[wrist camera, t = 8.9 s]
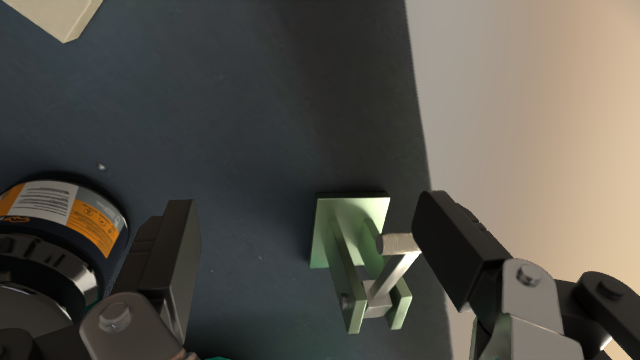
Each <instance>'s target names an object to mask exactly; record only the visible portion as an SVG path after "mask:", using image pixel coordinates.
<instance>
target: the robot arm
mask: <svg viewBox="0 0 640 360" xmlns="http://www.w3.org/2000/svg"><path fill="white" fill-rule="evenodd" d="M411 231H412V236H413V239H414V241H415V242H416V244H417V246H418V247H419V249H420V251H421V252H422V254H423V255H424V257H425V259H426V260H427V262H428V264H429V265H430V267H431V268H432V270H433V272H434V273H435V275H436V277H437V278H438V280H439V281H440V283H441V285H442V286H443V288H444V290H445V291H446V293H447V294H448V296H449V298H450V299H451V301H452V302H453V304H454V306H455V307H456V309H457V311H458V312H459V313H462V312H470V311H474V313H475V314H476V318H475V320H474V322H473V330H472V339H471V347H470V357H469V360H612V359H611V358H610V357H609V356H608V355H607V354H606V352H605V351H604V350H603V348H604V347H605V346H606V345H607V344H608V343H609V341H610V340H611V339H612V338H613V339H614V340H615V341H616V342H617V343H618V344H619V345H620V347H621V348H622V349H623V350H624V351H625V352H626V353H627V354H628V355H629V356H630V357H631V358H632V359H633V360H640V296H639V295H638V294H636V293H635V292H634V291H633V290H632V289H631V288H629V287H628V286H627V285H625V284H624V283H623V282H621V281H619V280H617V279H615V278H614V277H611V276H609V275H606V274H603V273H600V272H594V271H588V272H585V273H583V274H582V276H581V277H580V278H579V280H578V281H577V283H574V282H568V281H562V280H557V279H553V278H552V277H551V275H550V274H549V273H548V272H547V271H545V270H544V269H543V268H541V267H540V266H538V265H536V264H534V263H532V262H530V261H527V260H524V259H518V258H513V257H512V256H511V255H510V253H509V252H508V251H507V250H506V249H505V248H504V247H503V246H502V245H501V244H500V243H499V242H498V241H497V239H496V238H495V237H494V236H493V235H492V234H491V233H490V232H489V231H487V230H486V228H485V227H484V226H483V224H482V223H479V220H478V219H477V218H476V217H475V216H474V215H473V214H472V213H471V212H470V211H469V210H468V209H466V208H464V207H463V206H461V205H460V204H458V203H455V202H454V200H453V199H452V198H451V197H450V196H449V195H448V194H447V193H446V192H445V191H443V190H442V191H441V190H440V191H423V192H422V193H421V194H420V197H419V200H418V203H417V207H416V210H415V214H414V217H413V221H412V226H411ZM200 252H201V235H200V229H199V222H198V215H197V209H196V203H195V200H194V199H188V200H169V202H168V204H167V207H166V209H165V212H164V215H163V216H154V217H151V218H149V219H148V220H147V221H146V222H145V223H144V224H143V225H142V226H141V227H140V228H139V230H138V232H137V235H136V237H135V239H134V243H133V244H132V246H131V248H130V250H129V254H128V255H127V257H126V260H125V262H124V264H123V266H122V269H121V271H120V273H119V275H118V278H117V280H116V282H115V284H114V287H113V289H112V291H111V293H110V295H109V296H108V297H106V298H104V299H102V300H101V301H99V302H98V303H96V304H95V305H94V306H93V307H92V308H90V309H89V311H88V312H87V313H86V314H85V316H84V317H83V319H82V321H80V322H78V323H76V324H73V325H71V326H68V327H65V328H62V329H59V330H56V331H54V332H51V333H48V334H45V335H42V336H39V337H36V338H33V337H32V336H31V334H30V333H29V332H28V331H26V330H24V329H21V328H5V329H0V360H201V359H200V358H199V357H198V356H197V355H196V354H195V353H194V352H192V351H190V352H189V353H188V352H187V351H186V350H185V349H184V348H183V347H182V344H184V341H185V335H186V330H187V324H188V319H189V313H190V308H191V302H192V297H193V291H194V286H195V280H196V275H197V269H198V264H199V258H200Z"/></svg>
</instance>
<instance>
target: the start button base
mask: <svg viewBox="0 0 640 360" xmlns="http://www.w3.org/2000/svg"><path fill="white" fill-rule="evenodd" d="M2 1H4V2H5V3H7V4H8V5H10V6H11V7H12V8H14V9H15V10H17V11H18V12H19V13H21V14H22V15H24V16H25V17H27V18H28V19H29V20H31V21H32V22H34V23H35V24H37V25H38V26H39V27H41V28H42V29H44V30H45V31H46V32H48V33H49V34H51V35H52V36H54V37H55V38H56V39H58V40H59V41H61V42H62V43H65V42H68V41H71V40H74V39H77V38H78V37H79V36H80V34H81V33H82V31H83V30H84V28H85V27H86V25H87V24H88V22H89V21H90V19H91V18H92V16H93V15H94V13H95V12H96V10H97V9H98V7H99V6H100V5H101V3H102V2H103V0H2Z"/></svg>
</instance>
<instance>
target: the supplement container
mask: <svg viewBox="0 0 640 360" xmlns="http://www.w3.org/2000/svg"><path fill="white" fill-rule="evenodd" d="M130 232H131V225H130V220H129V217H128V214H127V212H126V210H125V208H124V207H123V205H122V204H121V203H120V202H119V200H118V199H117V198H116V197H115V196H113V195H112V194H111V193H110V192H108V191H107V190H105V189H104V188H102V187H100V186H99V185H97V184H95V183H92V182H90V181H87V180H84V179H81V178H78V177H73V176H68V175H59V174H47V175H38V176H33V177H29V178H26V179H23V180H21V181H18V182H16V183H14V184H13V185H11V186H10V187H8V188H7V189H6V190H5V191H3V192H2V193H1V194H0V329H5V328H21V329H24V330H26V331H28V332H29V333H30V334H31V336H32V337H33V338H36V337H39V336H42V335H45V334H48V333H51V332H54V331H56V330H59V329H62V328H65V327H68V326H71V325H73V324H76V323H78V322H80V321H82V319H83V317H84V316H85V314H86V313H87V312H88V311H89V309H90V308H92V307H93V306H94V305H95V304H96V303H98V302H99V301H101V300H102V299H103V297H104V292H105V288H106V286H107V284H108V282H109V280H110V278H111V276H112V273H113V271H114V269H115V267H116V265H117V263H118V260H119V258H120V256H121V254H122V252H123V250H124V249H125V247H126V245H127V243H128V241H129V238H130Z"/></svg>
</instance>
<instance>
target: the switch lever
mask: <svg viewBox="0 0 640 360" xmlns="http://www.w3.org/2000/svg"><path fill="white" fill-rule="evenodd" d="M376 249H377V252H378V254H379V255H381V256H384V255H392V257H391V258H390V259H389V261H388V262H387V264H386V265H385V267H384V268H383V270H382V271H381V273H380V274H379V276H378V277H377V279H376V280H366V281H362V282H361V285H362V288H363V290H364V293H365V296H366V299H367V303H366V307H365V310H364V314H363V318H370V317H380V316H383V315H384V314H385V313H386V312H387V311H388V310H389V309H390V308H391V306H392V302H391V298H390V294H389V291H390V290H391V289H392V287H393V286H394V285H395V284H396V282H397V281H398V280H399V279H400V277H401V276H402V275H403V274H404V272H405V271H406V270H407V269H408V267H409V266H410V265H411V264H412V262H413V261H414V260H415V259H416V257H417V256H418V255H419V254H420V253H422V252H421V251H420V249H419V247H418V246H417V244H416V242H415V241H414V239H413V236H412V232H401V233H379V234H378V235H377V236H376Z"/></svg>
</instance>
